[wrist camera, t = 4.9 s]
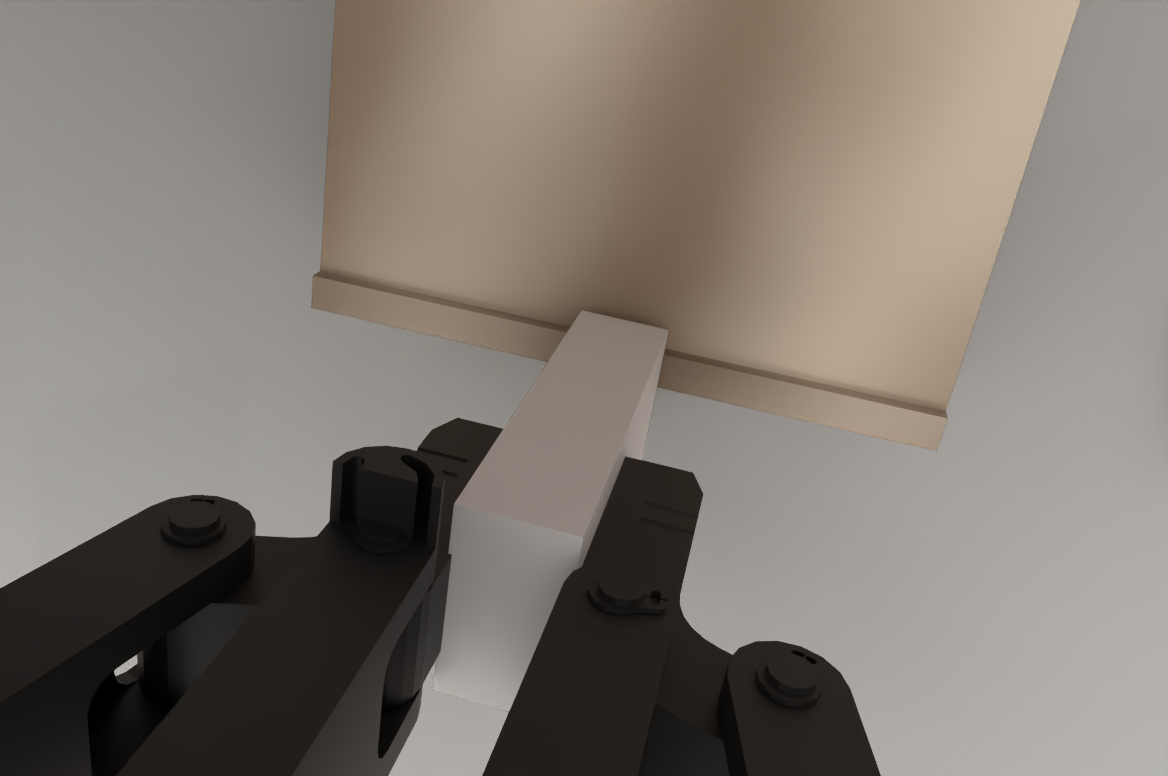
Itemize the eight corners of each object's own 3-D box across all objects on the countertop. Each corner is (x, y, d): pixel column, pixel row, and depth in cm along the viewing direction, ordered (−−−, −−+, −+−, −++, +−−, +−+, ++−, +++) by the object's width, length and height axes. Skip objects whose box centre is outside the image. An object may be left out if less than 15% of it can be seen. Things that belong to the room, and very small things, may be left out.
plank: (345, 284, 20) (311, 307, 19) (377, -188, 17) (338, -201, 15) (928, 415, 18) (936, 450, 17) (1085, -74, 15) (1111, -78, 14)
